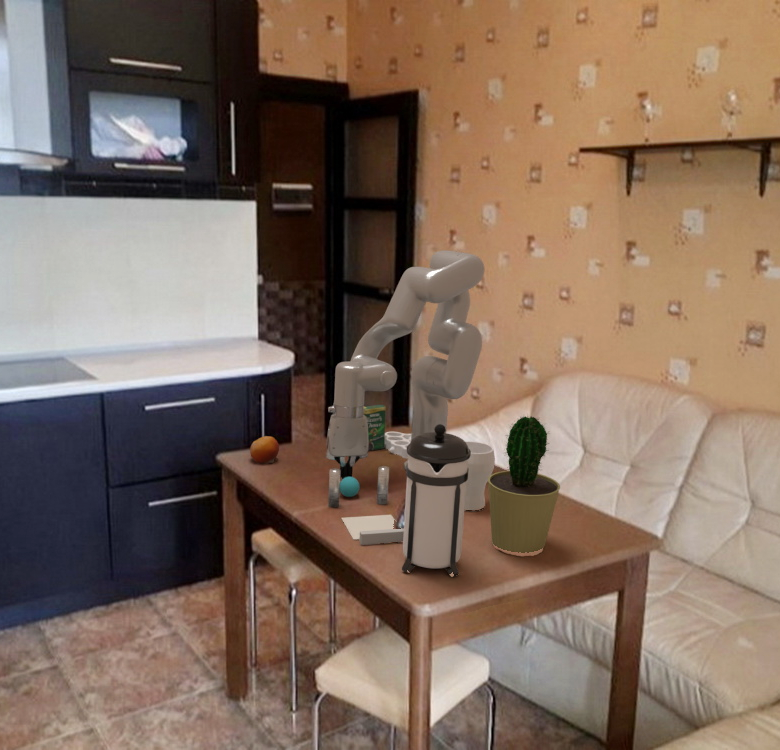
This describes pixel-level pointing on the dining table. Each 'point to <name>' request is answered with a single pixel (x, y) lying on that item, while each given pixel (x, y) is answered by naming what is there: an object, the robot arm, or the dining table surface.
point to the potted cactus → (522, 491)
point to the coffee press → (435, 500)
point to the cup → (478, 474)
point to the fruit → (264, 450)
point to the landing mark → (367, 524)
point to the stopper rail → (381, 536)
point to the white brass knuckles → (397, 443)
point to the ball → (349, 486)
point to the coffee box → (375, 426)
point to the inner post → (382, 485)
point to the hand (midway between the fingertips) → (345, 479)
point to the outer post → (334, 487)
